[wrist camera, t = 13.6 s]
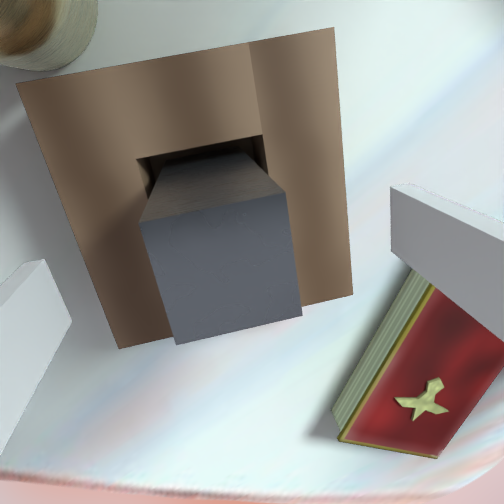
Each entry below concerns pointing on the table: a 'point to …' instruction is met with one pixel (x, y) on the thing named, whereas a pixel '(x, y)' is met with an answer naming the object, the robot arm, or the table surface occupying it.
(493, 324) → the robot arm
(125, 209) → the socket block
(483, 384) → the hardcover book
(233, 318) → the square bit
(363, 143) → the table surface
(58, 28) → the round bit
